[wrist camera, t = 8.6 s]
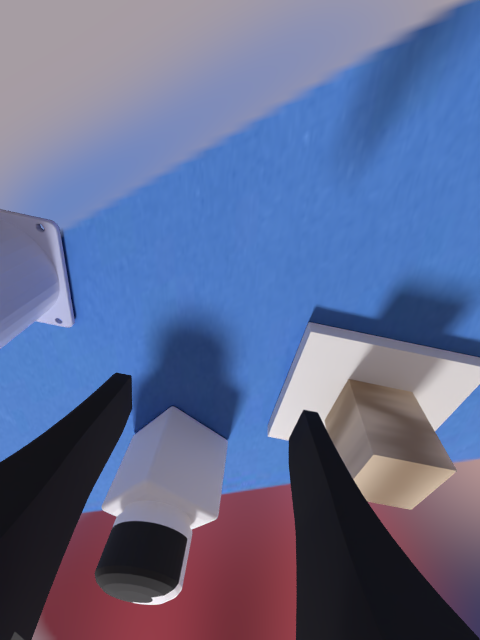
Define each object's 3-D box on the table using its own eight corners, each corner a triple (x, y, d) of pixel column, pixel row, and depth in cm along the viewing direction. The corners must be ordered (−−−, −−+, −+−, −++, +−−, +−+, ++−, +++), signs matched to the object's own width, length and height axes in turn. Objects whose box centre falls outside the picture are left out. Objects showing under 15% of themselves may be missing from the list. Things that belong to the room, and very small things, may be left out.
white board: (267, 425, 27) (267, 436, 26) (308, 321, 20) (310, 331, 19) (400, 450, 27) (405, 462, 26) (482, 358, 21) (493, 369, 20)
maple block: (324, 420, 24) (339, 495, 19) (348, 378, 21) (373, 454, 16) (381, 431, 24) (411, 509, 19) (412, 392, 21) (456, 470, 16)
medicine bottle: (133, 434, 29) (62, 589, 19) (172, 403, 26) (113, 570, 16) (187, 464, 32) (149, 617, 22) (229, 439, 28) (208, 605, 18)
